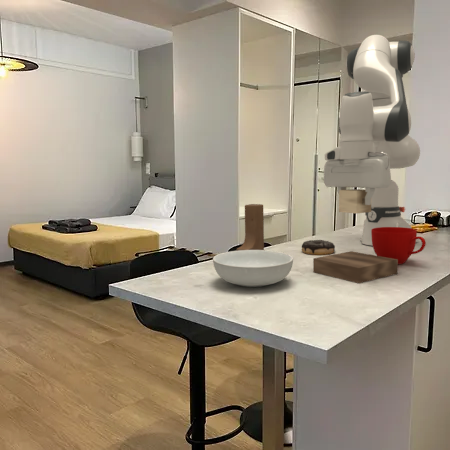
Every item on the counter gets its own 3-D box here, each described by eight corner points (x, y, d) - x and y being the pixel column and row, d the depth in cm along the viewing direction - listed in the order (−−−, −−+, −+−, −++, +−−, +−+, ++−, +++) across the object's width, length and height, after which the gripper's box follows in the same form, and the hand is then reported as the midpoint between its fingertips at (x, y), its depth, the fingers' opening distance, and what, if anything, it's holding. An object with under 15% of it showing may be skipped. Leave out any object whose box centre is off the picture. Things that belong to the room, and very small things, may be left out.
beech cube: (353, 210, 127) (353, 189, 126) (371, 211, 122) (371, 189, 121) (339, 211, 124) (339, 190, 123) (356, 213, 119) (356, 190, 118)
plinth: (351, 264, 136) (351, 251, 136) (397, 273, 123) (397, 259, 123) (313, 272, 127) (313, 258, 127) (358, 283, 114) (359, 268, 114)
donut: (295, 253, 157) (295, 241, 157) (317, 248, 165) (317, 237, 164) (320, 257, 149) (320, 245, 148) (342, 252, 156) (342, 241, 156)
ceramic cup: (410, 271, 126) (411, 235, 125) (361, 261, 140) (362, 229, 139) (437, 264, 133) (438, 231, 132) (388, 256, 147) (389, 225, 146)
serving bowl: (207, 293, 109) (206, 265, 108) (219, 273, 130) (219, 249, 129) (293, 294, 106) (293, 266, 105) (292, 273, 127) (292, 249, 126)
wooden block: (247, 264, 140) (246, 206, 138) (236, 262, 143) (235, 206, 141) (264, 259, 147) (263, 204, 144) (253, 257, 150) (252, 203, 147)
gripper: (396, 151, 114) (395, 205, 116) (335, 154, 131) (335, 201, 133) (381, 151, 111) (380, 207, 112) (320, 154, 128) (320, 203, 129)
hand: (355, 204), depth 123 cm, fingers closed on beech cube, 6 cm apart
